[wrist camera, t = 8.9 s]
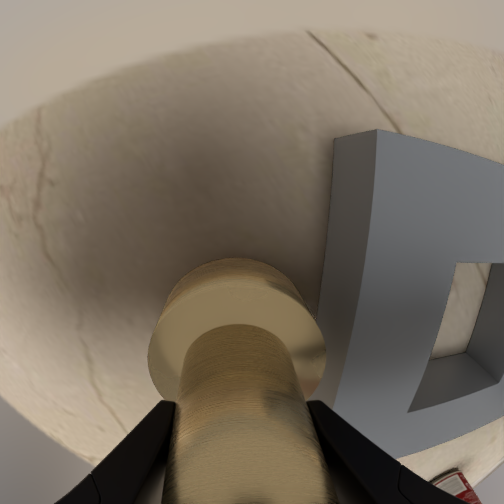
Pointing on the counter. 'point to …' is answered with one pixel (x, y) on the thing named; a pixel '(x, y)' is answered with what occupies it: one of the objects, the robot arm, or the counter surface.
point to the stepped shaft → (240, 388)
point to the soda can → (457, 486)
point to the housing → (409, 290)
